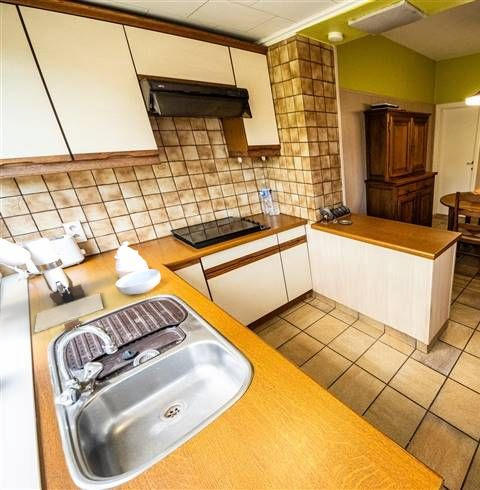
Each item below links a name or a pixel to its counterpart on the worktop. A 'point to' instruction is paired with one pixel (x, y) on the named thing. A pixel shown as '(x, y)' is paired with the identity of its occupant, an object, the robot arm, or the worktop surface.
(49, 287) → the squeeze bottle
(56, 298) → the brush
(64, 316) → the board
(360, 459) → the worktop surface
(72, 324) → the cork block
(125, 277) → the cereal bowl
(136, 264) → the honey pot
